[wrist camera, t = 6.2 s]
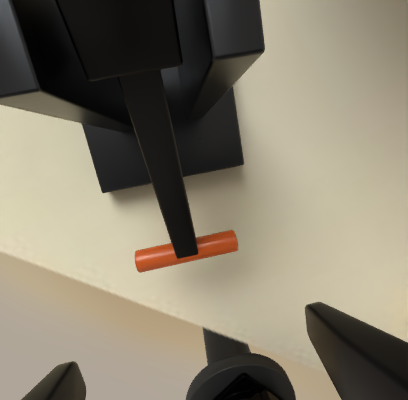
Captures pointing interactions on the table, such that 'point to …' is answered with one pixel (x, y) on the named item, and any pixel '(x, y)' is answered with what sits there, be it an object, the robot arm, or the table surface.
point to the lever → (144, 107)
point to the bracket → (112, 94)
